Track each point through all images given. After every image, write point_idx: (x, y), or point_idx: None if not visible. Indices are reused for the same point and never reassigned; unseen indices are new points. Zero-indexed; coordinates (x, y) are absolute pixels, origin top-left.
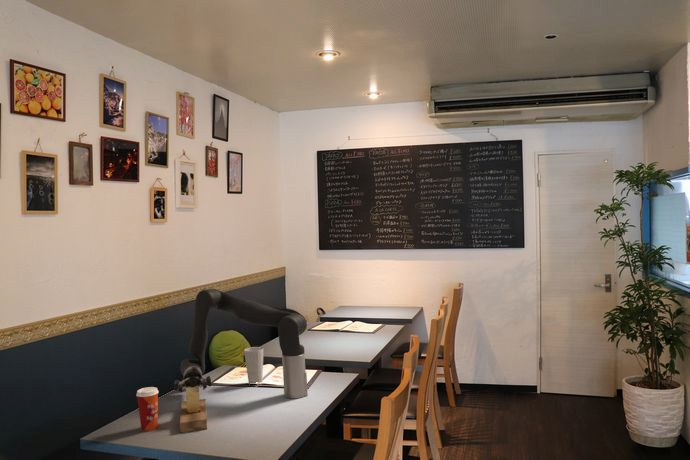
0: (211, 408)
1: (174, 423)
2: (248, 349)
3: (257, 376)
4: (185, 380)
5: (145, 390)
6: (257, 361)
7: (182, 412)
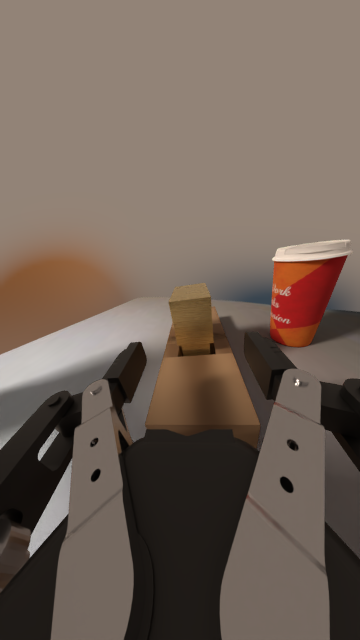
0: (140, 423)
1: (239, 346)
2: None
3: None
4: (272, 419)
5: (311, 244)
6: None
7: (220, 331)
